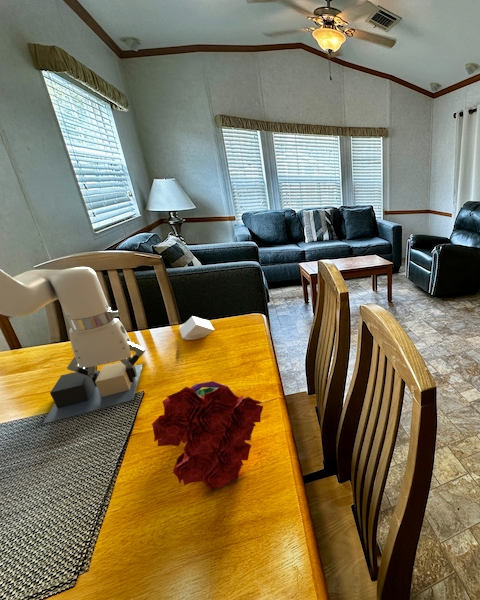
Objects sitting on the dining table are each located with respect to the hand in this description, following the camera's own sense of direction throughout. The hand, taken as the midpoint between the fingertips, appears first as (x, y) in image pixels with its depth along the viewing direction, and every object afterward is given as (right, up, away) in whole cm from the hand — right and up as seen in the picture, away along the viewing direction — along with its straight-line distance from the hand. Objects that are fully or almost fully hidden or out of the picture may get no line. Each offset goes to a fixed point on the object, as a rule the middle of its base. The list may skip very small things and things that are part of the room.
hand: (118, 382), depth 84 cm
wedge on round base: (+4, +9, +27) cm, 29 cm away
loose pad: (0, -1, 0) cm, 1 cm away
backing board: (-3, -2, -1) cm, 4 cm away
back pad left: (-7, -2, -3) cm, 8 cm away
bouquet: (+32, -8, -15) cm, 37 cm away
